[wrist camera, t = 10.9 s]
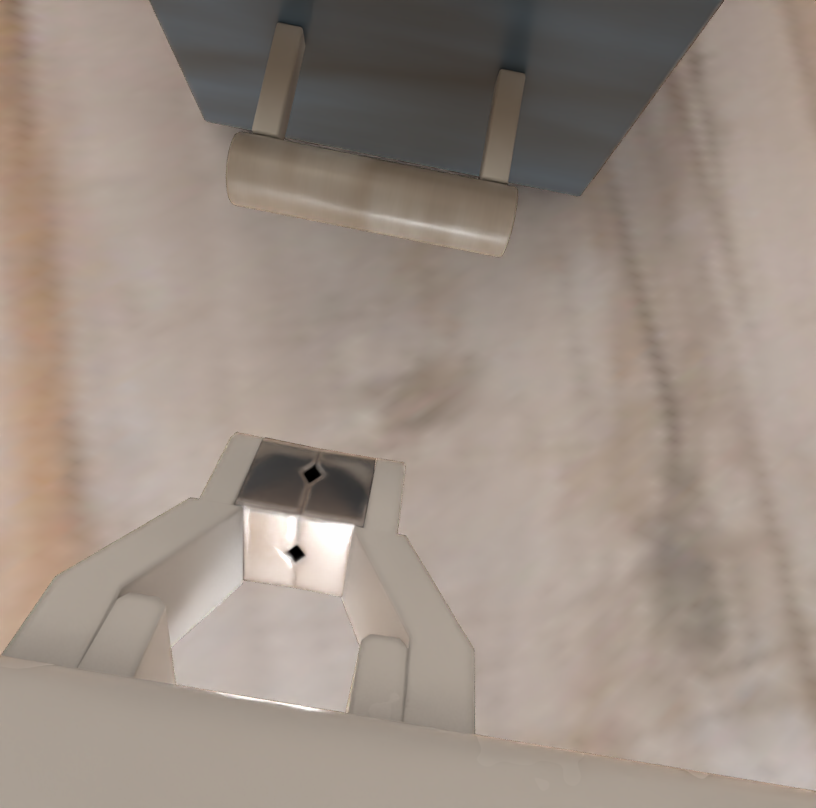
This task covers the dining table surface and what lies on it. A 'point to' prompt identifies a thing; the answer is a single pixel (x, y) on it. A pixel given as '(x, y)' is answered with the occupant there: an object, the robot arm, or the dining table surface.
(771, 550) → the dining table surface
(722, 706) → the dining table surface
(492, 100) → the drawer
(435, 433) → the dining table surface
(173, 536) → the robot arm
